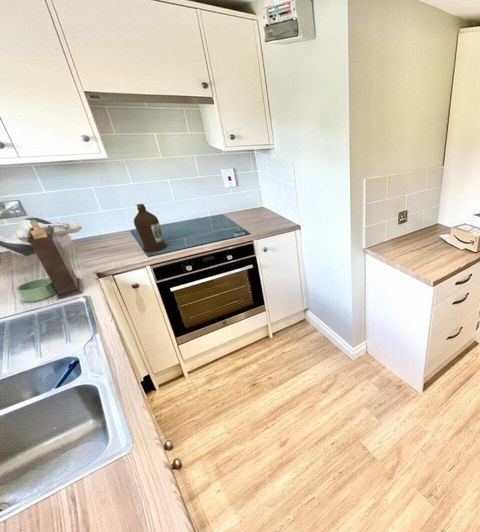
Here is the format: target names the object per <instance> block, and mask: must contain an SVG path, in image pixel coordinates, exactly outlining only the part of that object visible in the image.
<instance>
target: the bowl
mask: <svg viewBox="0 0 480 532" xmlns="http://www.w3.org/2000/svg"><path fill="white" fill-rule="evenodd" d="M16 291H17V293H18V294H19V296H20V298H21V299H22V301H24V302H38V301H44V300H47V299H49V298H51V297H53V296H55V295H56V294H58V292H57V290H56V289H55V287H54V285H53V283H52V281H51V280H50V278H49V277H44V278H38V279H33V280H29V281H26V282H23V283H22V284H20V285H19V286H17V287H16Z"/></svg>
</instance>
